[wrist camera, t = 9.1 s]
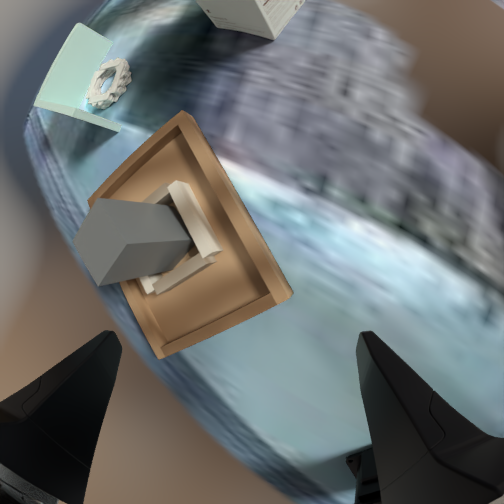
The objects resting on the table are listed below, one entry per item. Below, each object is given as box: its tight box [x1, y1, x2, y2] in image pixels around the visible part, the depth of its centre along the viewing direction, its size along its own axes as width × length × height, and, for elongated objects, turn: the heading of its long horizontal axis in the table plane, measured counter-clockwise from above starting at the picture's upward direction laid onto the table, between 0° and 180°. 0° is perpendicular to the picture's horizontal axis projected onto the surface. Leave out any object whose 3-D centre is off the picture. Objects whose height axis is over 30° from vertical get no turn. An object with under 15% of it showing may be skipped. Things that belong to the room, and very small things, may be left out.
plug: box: [73, 198, 195, 287], centre depth 20 cm, size 4×4×9 cm
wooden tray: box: [87, 110, 294, 359], centre depth 24 cm, size 18×14×3 cm
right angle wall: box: [33, 23, 131, 132], centre depth 24 cm, size 12×12×8 cm
